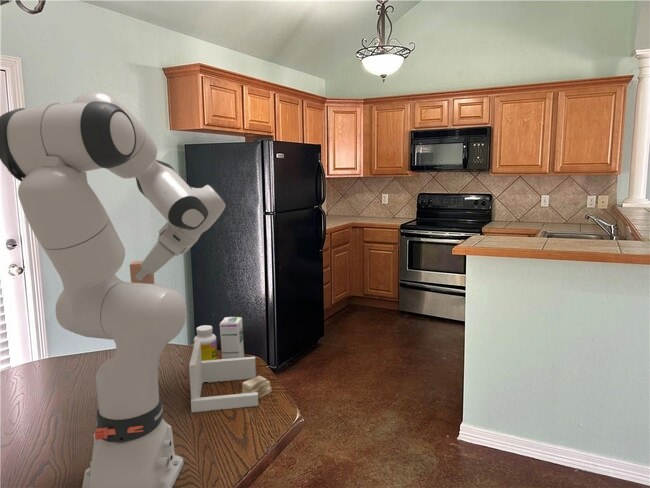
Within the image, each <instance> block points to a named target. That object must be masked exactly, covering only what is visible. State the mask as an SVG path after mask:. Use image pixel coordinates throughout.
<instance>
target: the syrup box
mask: <svg viewBox="0 0 650 488" xmlns="http://www.w3.org/2000/svg"><path fill="white" fill-rule="evenodd" d="M243 327H244V326H243V317H242V316H228V317H227V316H226V317H224V318H223V319H222V320H221V321H220V322H219V331H220V333H219V335H220V348H221V359H231V358H243V357H245V348H244V346H245V345H244V344H245V343H244V331H243Z"/></svg>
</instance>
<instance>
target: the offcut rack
mask: <svg viewBox="0 0 650 488" xmlns="http://www.w3.org/2000/svg"><path fill="white" fill-rule="evenodd" d="M188 364H189V365H188V367H189V368H188V369H189V371H188V372H189V386H190V409H191V413H199V412H200V413H201V412H202V413H203V412H210V411H211V410H212V411H219V410H220V411H221V409H222V410H229V409H230V410H231V409H239V408H240V409H241V408H250V407H259V399H258V392H254V393H243V394H241V393H236V394H224V395H222V394H221V395H213V396H203V397H202V395H201V393H202V388H203V384H205V383H204V382H208V383H218V381H219V382H228V381H230V382H231V381H240V380H250V379H252V378H254V377H257V368H256V356H246V357H245V356H244V357H243V358H231V359H222V358H221V359H219V358H217V360H206V361H202V359H201V342H200V341H199V342H195V344H194V343H193V348H192V353H191V357H190V361H189V363H188ZM212 411H211V412H212Z"/></svg>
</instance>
